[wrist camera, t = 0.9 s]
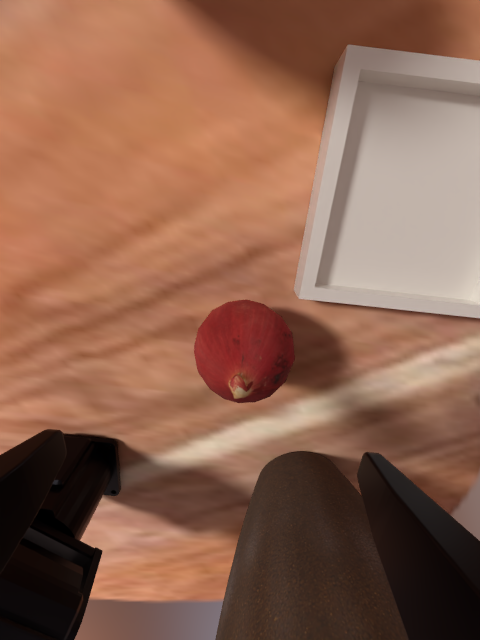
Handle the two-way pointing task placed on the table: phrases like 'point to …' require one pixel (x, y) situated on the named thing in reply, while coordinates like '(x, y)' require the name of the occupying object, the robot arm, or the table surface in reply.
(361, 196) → the dish
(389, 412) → the table surface
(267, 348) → the onion
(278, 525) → the plant pot
